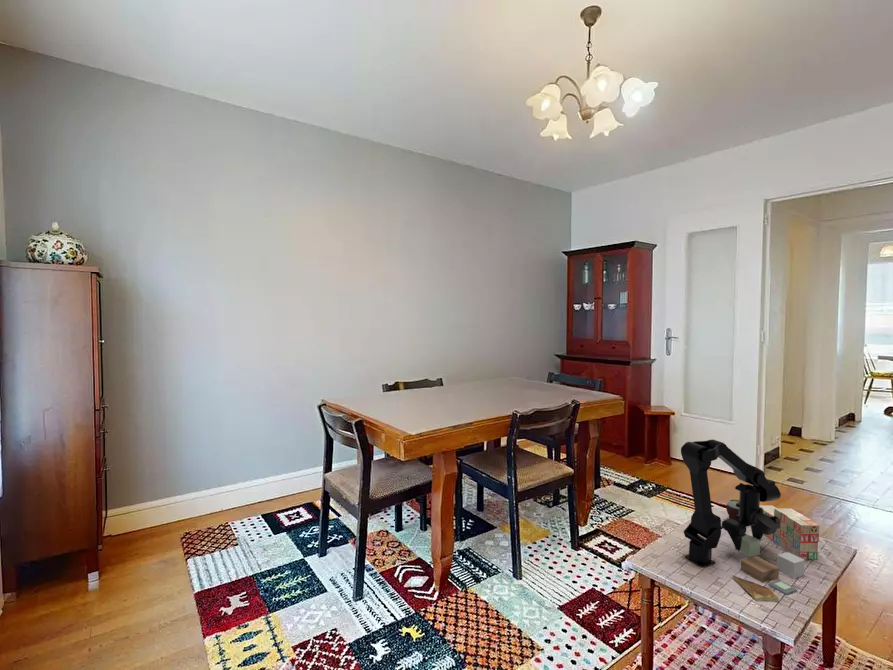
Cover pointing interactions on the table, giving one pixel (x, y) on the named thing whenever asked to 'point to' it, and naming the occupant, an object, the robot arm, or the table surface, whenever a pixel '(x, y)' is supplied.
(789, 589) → the card
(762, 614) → the table surface
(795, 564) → the grey cube
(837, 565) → the table surface
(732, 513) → the mate gourd
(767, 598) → the shard
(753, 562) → the walnut block
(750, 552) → the sage cube
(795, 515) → the stack of blocks
